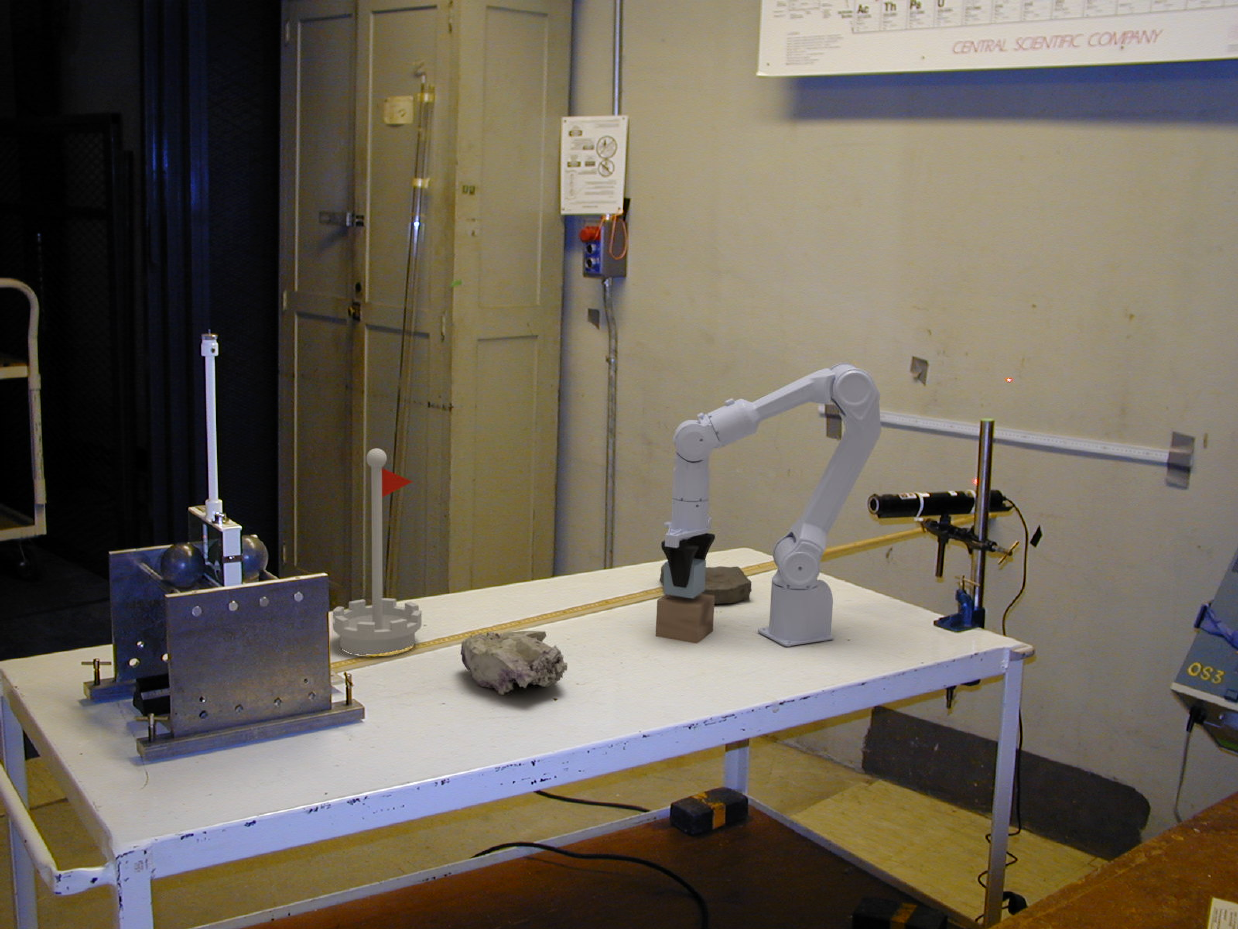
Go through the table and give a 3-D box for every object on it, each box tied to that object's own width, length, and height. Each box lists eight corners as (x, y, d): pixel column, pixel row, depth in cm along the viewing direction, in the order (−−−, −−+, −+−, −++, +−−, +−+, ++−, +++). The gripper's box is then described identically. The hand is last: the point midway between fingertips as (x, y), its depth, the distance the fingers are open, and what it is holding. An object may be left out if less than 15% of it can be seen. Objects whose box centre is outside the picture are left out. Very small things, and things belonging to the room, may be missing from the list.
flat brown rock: (658, 582, 219) (659, 560, 219) (738, 583, 221) (739, 561, 220) (669, 608, 203) (670, 585, 202) (755, 609, 204) (756, 586, 203)
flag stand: (337, 663, 171) (335, 457, 166) (329, 634, 183) (326, 442, 178) (428, 655, 175) (428, 455, 170) (413, 628, 187) (414, 440, 182)
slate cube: (675, 586, 191) (676, 555, 190) (704, 590, 189) (706, 560, 188) (663, 593, 187) (664, 562, 186) (692, 598, 185) (694, 567, 184)
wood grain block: (672, 624, 194) (673, 589, 193) (712, 631, 191) (714, 595, 190) (655, 636, 188) (657, 600, 186) (697, 644, 185) (698, 607, 184)
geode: (501, 695, 175) (439, 710, 162) (489, 632, 176) (427, 641, 163) (599, 675, 167) (542, 689, 154) (585, 609, 169) (528, 617, 155)
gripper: (684, 487, 193) (680, 568, 196) (648, 503, 180) (644, 589, 183) (725, 492, 190) (721, 574, 193) (691, 508, 178) (687, 596, 180)
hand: (686, 582), depth 188 cm, fingers closed on slate cube, 5 cm apart
